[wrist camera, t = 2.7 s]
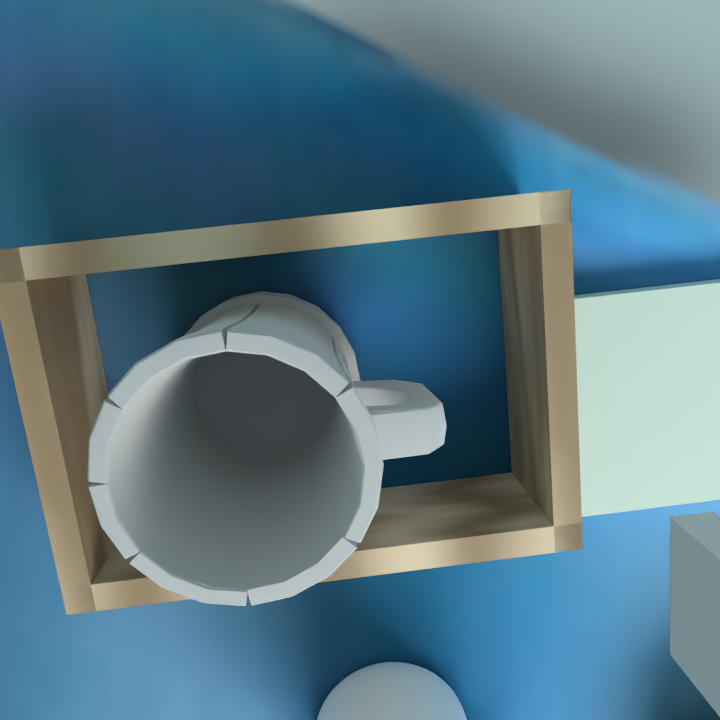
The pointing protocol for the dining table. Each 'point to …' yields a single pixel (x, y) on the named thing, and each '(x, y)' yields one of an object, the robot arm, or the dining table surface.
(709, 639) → the robot arm
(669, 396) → the mat
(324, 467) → the cup
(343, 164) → the dining table surface
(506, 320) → the caddy
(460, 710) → the cup
